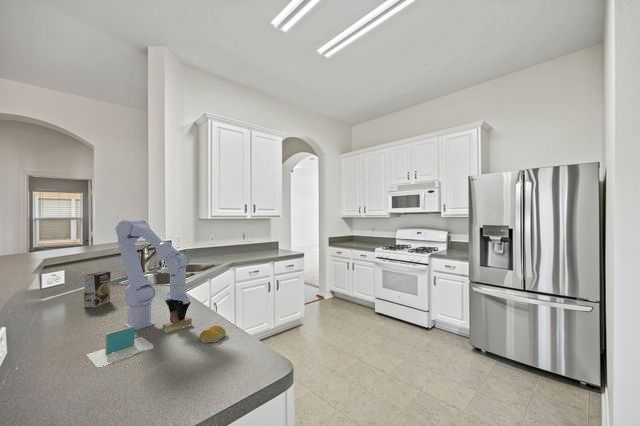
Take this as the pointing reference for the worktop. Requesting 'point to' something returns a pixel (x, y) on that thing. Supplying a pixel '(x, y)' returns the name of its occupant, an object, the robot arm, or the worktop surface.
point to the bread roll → (212, 334)
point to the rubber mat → (118, 352)
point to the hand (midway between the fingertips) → (177, 317)
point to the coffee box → (97, 289)
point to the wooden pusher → (176, 322)
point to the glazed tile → (119, 339)
